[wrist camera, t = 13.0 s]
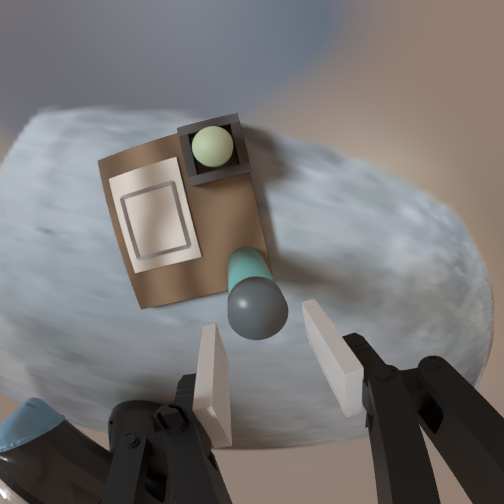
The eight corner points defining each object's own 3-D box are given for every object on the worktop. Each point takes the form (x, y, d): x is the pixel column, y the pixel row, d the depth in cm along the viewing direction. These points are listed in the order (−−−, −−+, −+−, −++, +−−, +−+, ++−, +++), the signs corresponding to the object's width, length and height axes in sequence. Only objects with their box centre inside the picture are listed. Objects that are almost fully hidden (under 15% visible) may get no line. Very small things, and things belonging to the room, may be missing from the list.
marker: (250, 289, 31) (264, 348, 20) (219, 269, 30) (216, 322, 19) (272, 259, 31) (300, 305, 19) (241, 238, 30) (251, 274, 18)
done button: (200, 171, 26) (197, 170, 23) (192, 136, 25) (188, 132, 22) (236, 162, 26) (237, 160, 23) (228, 128, 25) (228, 122, 22)
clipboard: (143, 305, 32) (135, 318, 28) (101, 161, 27) (88, 159, 24) (271, 275, 32) (276, 286, 29) (236, 121, 28) (237, 113, 24)
